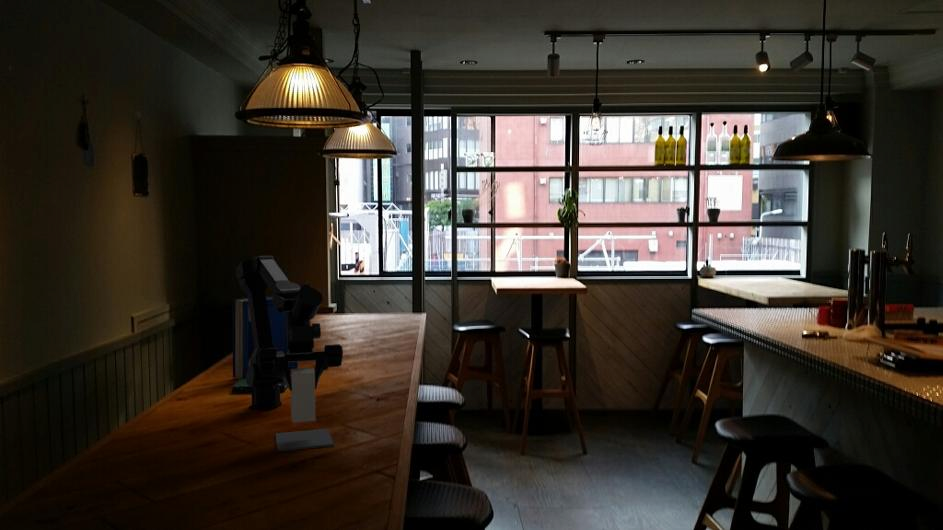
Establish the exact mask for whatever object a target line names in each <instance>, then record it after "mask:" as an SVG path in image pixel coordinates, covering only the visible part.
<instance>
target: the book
mask: <svg viewBox="0 0 943 530" xmlns="http://www.w3.org/2000/svg"><path fill="white" fill-rule="evenodd" d="M272 298H273V295H266V299H267V306H268V312H269V319H270V326H271V333H272V340H273V345H274V346H275V347H276V348H277V349H280V350H281V351H284V352H285V353H288V348H287V332H286V326H285V325H286V315H287V313H288V312H281V313H279V312H278V311H277V310H276V309H275V308H274V306H273V302H272ZM254 349H255V345H254V338H253V331H252V324H251V316H250V309H249V302H248V297H242V298H241V297H240V298H235V299H234V298H233V299H232V378H236V379H237V380H239V379H246V374H247V372H248V369H249V367H250V365H251V364H250V358H251V356H252V354H253V352H254ZM298 364H299V363H298V362H288V367H289V372H290V369H299V368H298V367H299V366H298Z"/></svg>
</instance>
